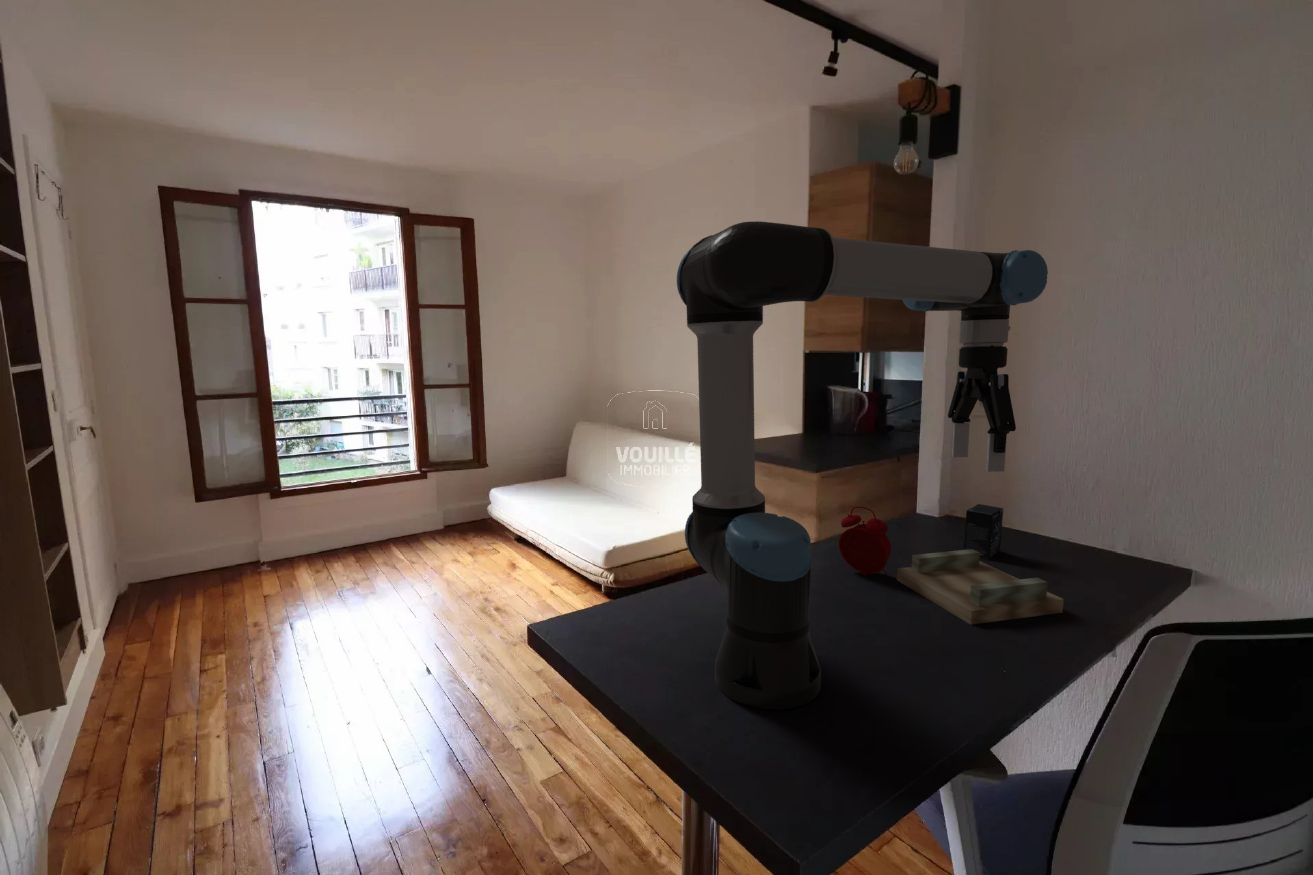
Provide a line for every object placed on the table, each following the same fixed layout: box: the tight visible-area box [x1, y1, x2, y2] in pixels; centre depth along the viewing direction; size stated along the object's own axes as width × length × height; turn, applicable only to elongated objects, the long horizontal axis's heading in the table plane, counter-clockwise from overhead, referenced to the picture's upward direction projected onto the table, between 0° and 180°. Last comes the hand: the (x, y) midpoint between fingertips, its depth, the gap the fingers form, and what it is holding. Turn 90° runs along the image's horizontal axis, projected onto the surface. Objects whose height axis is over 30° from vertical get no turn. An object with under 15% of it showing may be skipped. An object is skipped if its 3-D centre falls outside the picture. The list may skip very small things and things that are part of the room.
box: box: [963, 503, 1004, 561], centre depth 140 cm, size 8×6×11 cm
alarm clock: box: [838, 505, 892, 577], centre depth 127 cm, size 10×6×15 cm, turn 45°
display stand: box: [896, 549, 1065, 626], centre depth 116 cm, size 19×21×6 cm
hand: (976, 463), depth 111 cm, fingers open, 13 cm apart
